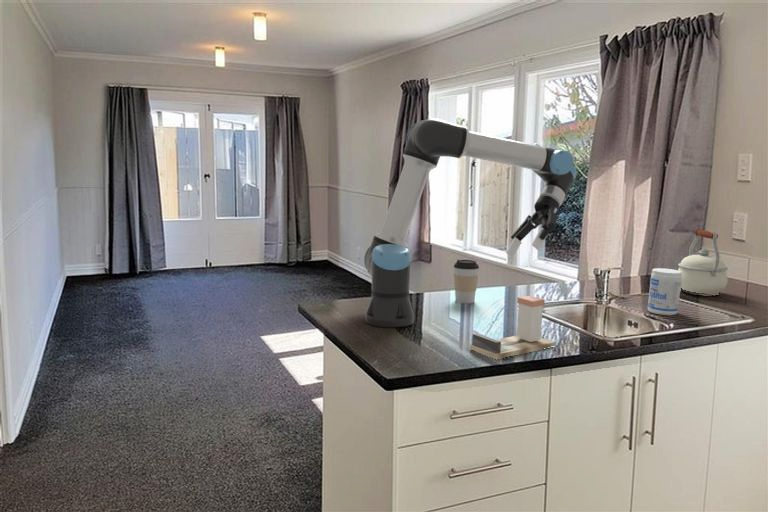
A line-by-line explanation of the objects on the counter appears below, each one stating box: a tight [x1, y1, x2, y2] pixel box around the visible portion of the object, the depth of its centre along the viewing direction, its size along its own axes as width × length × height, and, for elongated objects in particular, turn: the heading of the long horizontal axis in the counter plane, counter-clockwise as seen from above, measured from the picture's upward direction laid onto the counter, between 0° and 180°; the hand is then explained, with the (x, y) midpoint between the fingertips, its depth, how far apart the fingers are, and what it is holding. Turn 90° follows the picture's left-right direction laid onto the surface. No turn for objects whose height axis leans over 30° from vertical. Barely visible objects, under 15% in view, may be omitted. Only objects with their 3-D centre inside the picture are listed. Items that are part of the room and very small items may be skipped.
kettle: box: [677, 228, 729, 294], centre depth 252 cm, size 25×18×25 cm
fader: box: [516, 295, 546, 342], centre depth 174 cm, size 5×6×11 cm
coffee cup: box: [453, 259, 480, 305], centre depth 227 cm, size 9×9×15 cm
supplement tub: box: [647, 267, 682, 316], centre depth 217 cm, size 10×10×15 cm
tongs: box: [607, 291, 626, 300], centre depth 244 cm, size 4×13×2 cm, turn 33°
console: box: [469, 332, 556, 361], centre depth 172 cm, size 22×10×4 cm, turn 124°
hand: (521, 251), depth 202 cm, fingers open, 13 cm apart
